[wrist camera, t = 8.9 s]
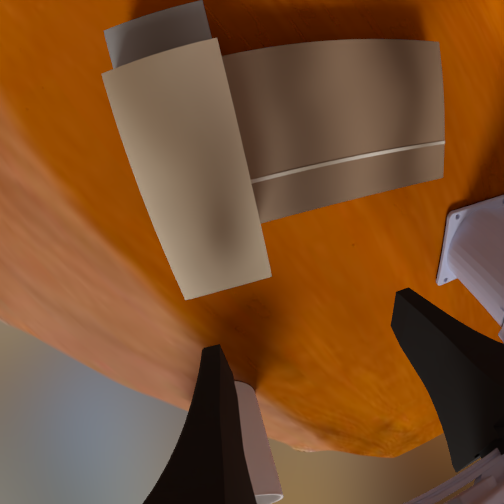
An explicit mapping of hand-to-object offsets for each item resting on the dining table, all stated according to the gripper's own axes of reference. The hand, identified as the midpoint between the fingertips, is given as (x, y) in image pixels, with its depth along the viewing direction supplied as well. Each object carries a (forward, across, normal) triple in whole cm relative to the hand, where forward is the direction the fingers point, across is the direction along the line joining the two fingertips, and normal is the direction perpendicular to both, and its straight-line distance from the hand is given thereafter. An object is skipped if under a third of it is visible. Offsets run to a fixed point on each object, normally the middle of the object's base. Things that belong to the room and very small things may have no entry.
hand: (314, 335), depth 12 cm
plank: (+10, -3, -6) cm, 12 cm away
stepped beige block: (+9, +3, -7) cm, 12 cm away
